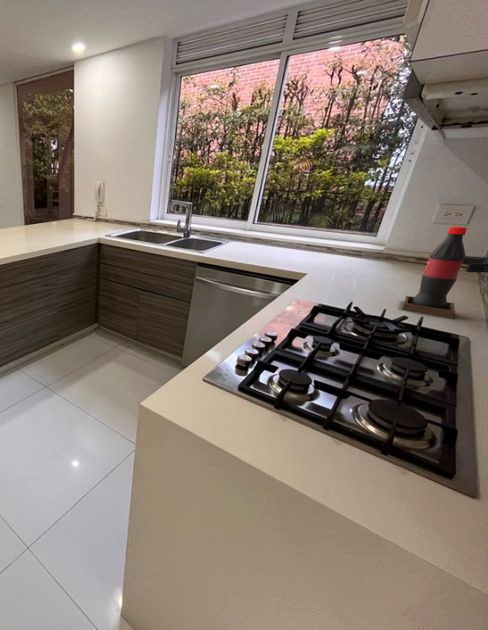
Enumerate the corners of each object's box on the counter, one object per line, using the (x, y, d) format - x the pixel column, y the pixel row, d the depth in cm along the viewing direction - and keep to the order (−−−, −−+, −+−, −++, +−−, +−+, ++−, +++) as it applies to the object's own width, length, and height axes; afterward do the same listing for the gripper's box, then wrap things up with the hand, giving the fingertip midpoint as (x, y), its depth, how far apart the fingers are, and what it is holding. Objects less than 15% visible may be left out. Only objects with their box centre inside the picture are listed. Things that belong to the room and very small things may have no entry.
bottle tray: (450, 321, 115) (455, 311, 114) (400, 312, 124) (404, 303, 123) (450, 312, 124) (453, 303, 122) (403, 304, 132) (406, 295, 131)
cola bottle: (441, 310, 124) (476, 226, 113) (443, 316, 118) (479, 228, 107) (410, 305, 129) (439, 224, 119) (409, 310, 124) (441, 226, 113)
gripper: (561, 285, 103) (479, 283, 107) (482, 267, 126) (417, 266, 130) (573, 261, 101) (490, 259, 104) (491, 247, 124) (424, 246, 127)
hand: (449, 263), depth 117 cm, fingers open, 13 cm apart
